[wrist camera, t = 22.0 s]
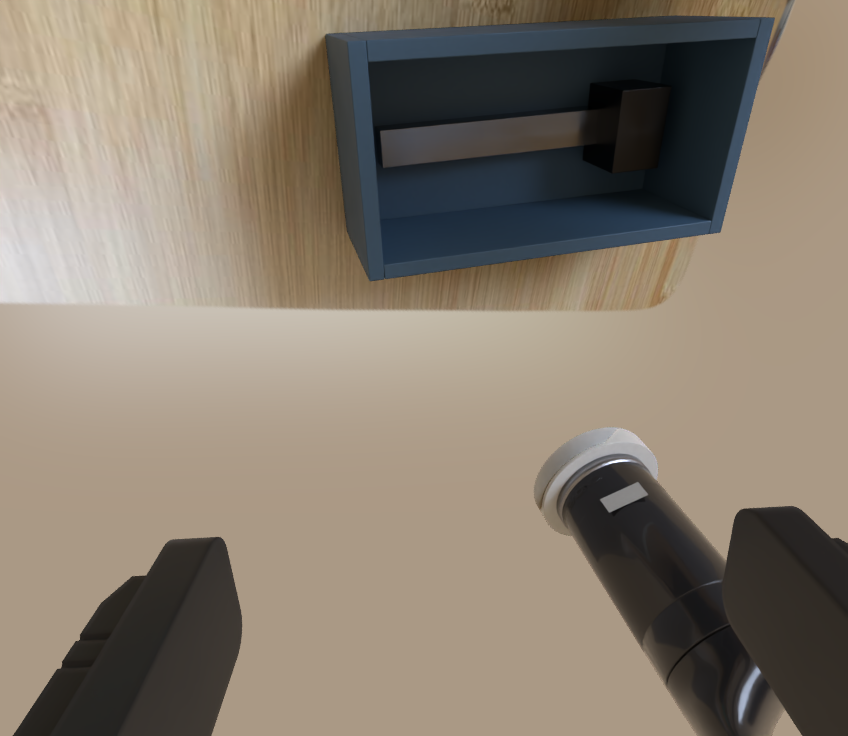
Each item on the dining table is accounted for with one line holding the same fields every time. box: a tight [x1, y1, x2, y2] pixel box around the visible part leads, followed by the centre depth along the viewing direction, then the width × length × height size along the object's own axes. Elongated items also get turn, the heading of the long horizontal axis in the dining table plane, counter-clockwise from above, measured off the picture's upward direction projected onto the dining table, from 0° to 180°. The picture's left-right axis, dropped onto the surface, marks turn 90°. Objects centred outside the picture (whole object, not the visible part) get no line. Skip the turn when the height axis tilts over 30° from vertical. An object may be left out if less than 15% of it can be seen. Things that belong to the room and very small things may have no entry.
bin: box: [325, 16, 775, 281], centre depth 31 cm, size 21×11×8 cm, turn 92°
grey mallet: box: [375, 79, 671, 174], centre depth 32 cm, size 16×4×4 cm, turn 93°
